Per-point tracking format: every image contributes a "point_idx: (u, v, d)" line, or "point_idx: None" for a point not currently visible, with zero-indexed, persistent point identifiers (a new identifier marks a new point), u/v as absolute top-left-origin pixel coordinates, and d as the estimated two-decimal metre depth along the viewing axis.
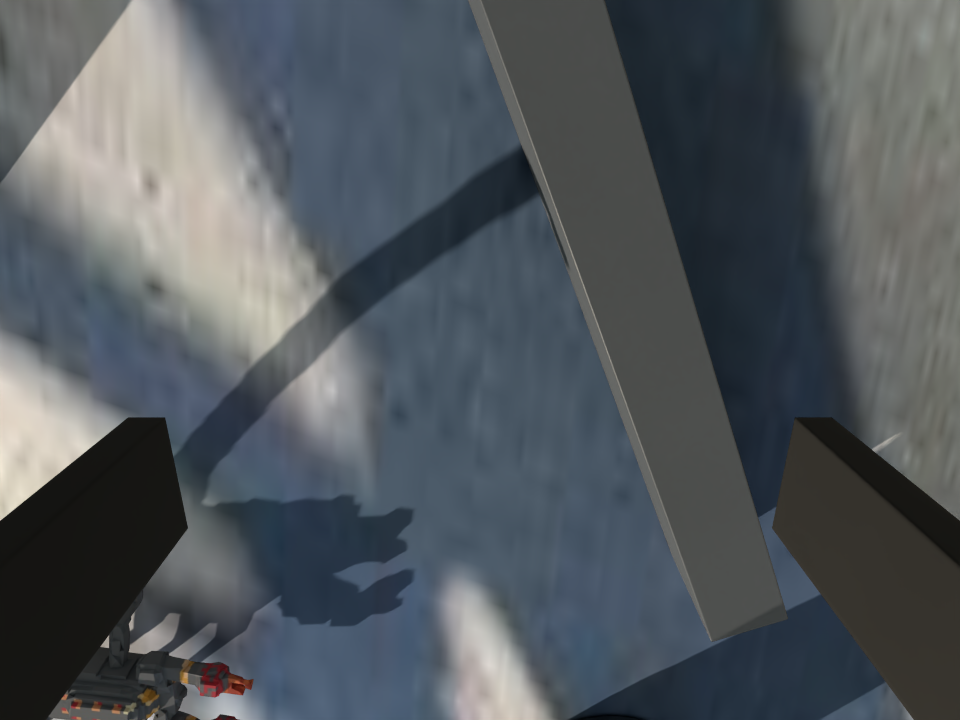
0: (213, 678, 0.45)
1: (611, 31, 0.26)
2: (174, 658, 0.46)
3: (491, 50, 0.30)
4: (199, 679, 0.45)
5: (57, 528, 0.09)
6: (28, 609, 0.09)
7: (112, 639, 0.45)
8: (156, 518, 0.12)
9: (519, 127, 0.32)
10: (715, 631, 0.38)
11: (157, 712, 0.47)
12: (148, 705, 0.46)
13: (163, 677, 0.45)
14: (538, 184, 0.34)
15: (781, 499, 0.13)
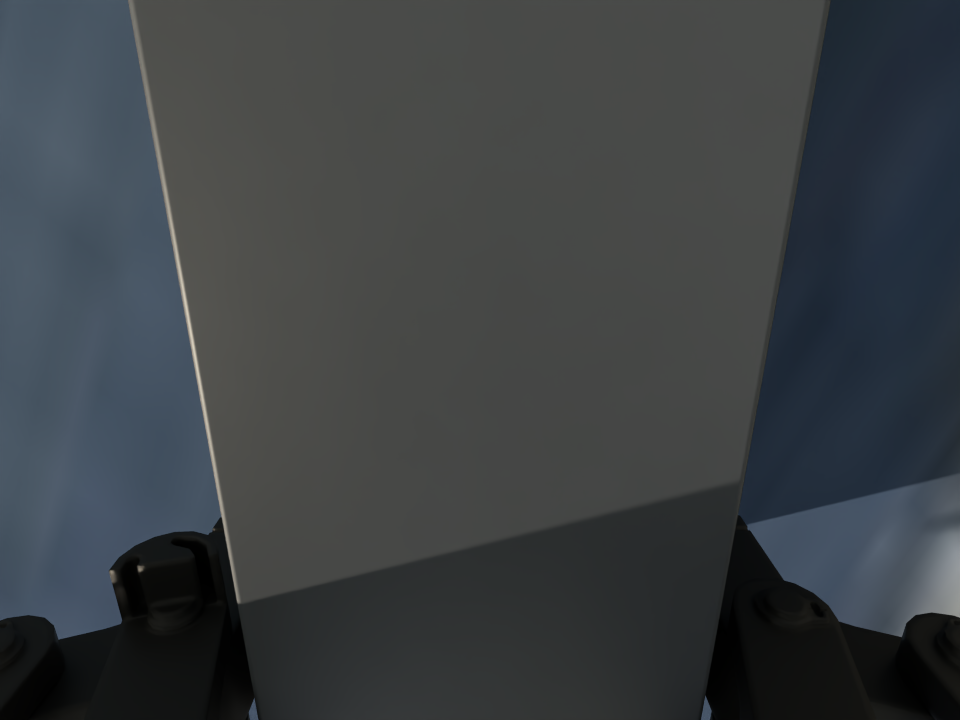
0: None
1: None
2: None
3: None
4: None
5: None
6: None
7: None
8: None
9: None
10: None
11: None
12: None
13: None
14: None
15: None
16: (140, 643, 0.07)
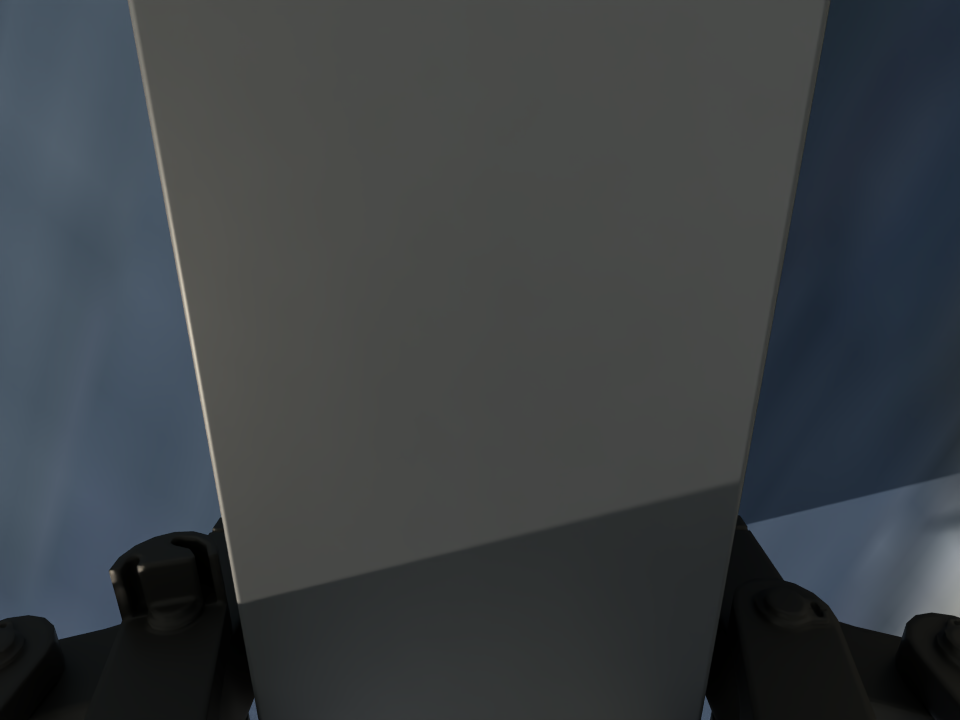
0: None
1: None
2: None
3: None
4: None
5: None
6: None
7: None
8: None
9: None
10: None
11: None
12: None
13: None
14: None
15: None
16: (140, 643, 0.07)
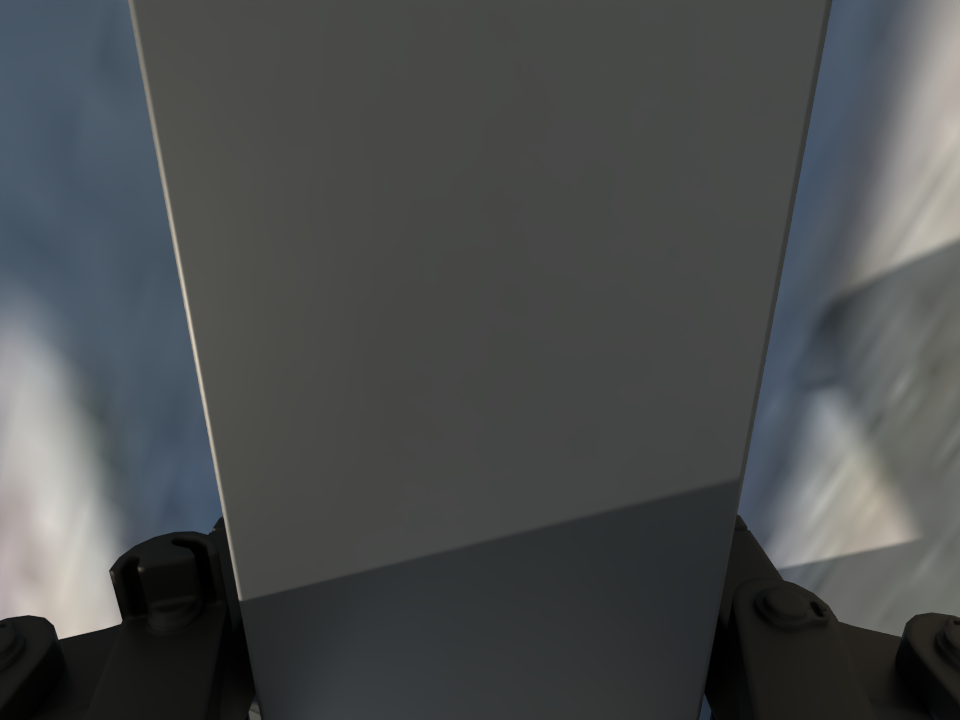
0: None
1: None
2: None
3: None
4: None
5: None
6: None
7: None
8: None
9: None
10: None
11: None
12: None
13: None
14: None
15: None
16: (140, 643, 0.07)
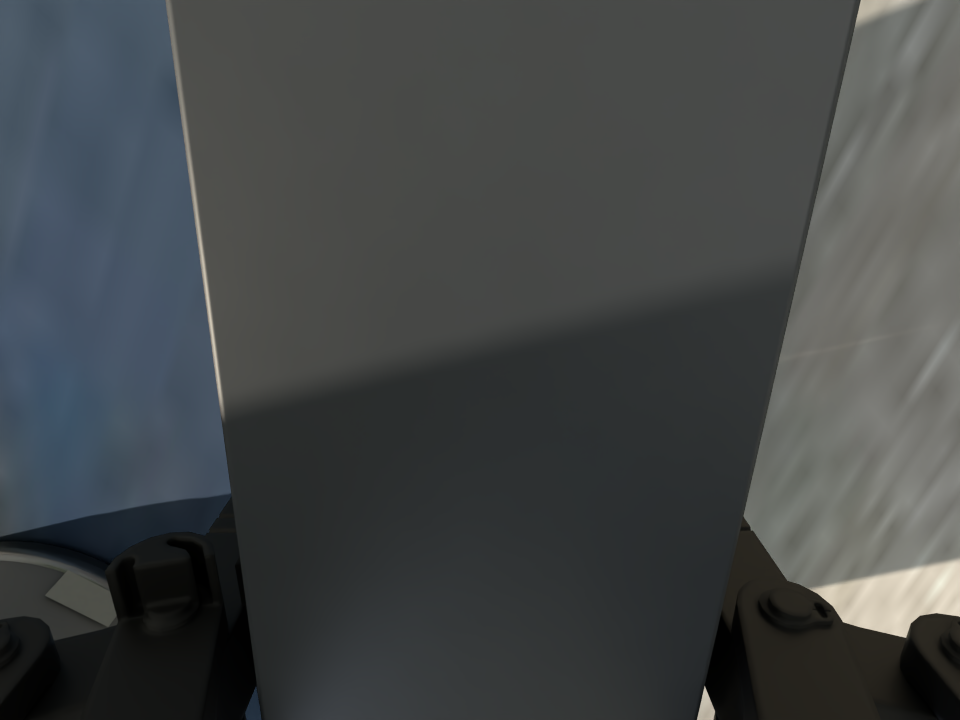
0: None
1: None
2: None
3: None
4: None
5: None
6: None
7: None
8: None
9: None
10: None
11: None
12: None
13: None
14: None
15: None
16: (136, 644, 0.07)
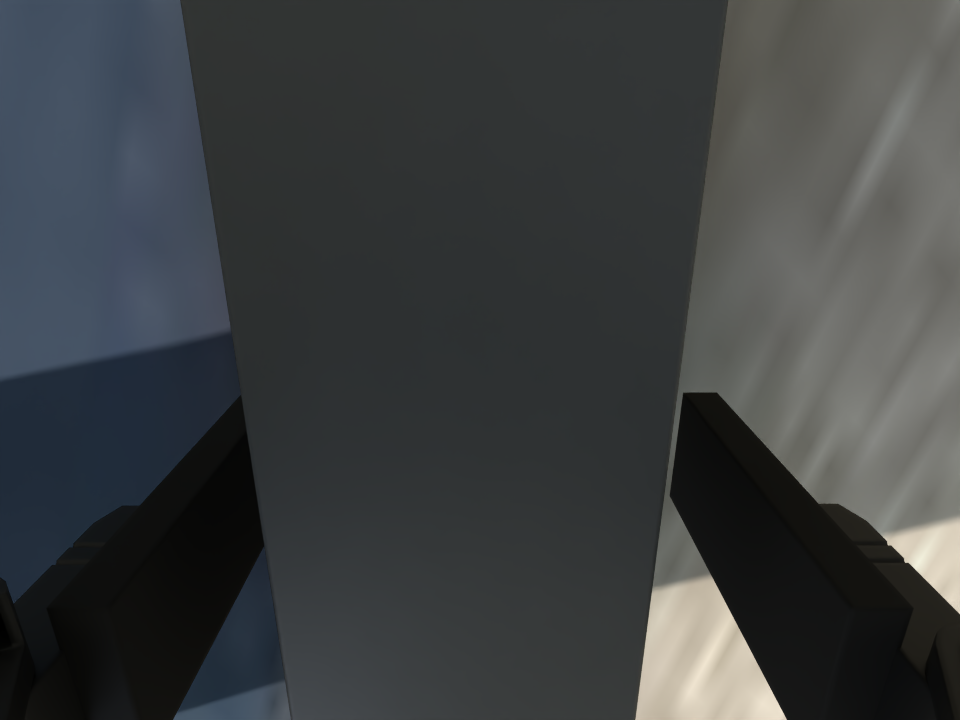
0: None
1: None
2: None
3: None
4: None
5: (215, 483, 0.10)
6: (199, 551, 0.10)
7: None
8: None
9: None
10: None
11: None
12: None
13: None
14: None
15: (675, 468, 0.14)
16: None
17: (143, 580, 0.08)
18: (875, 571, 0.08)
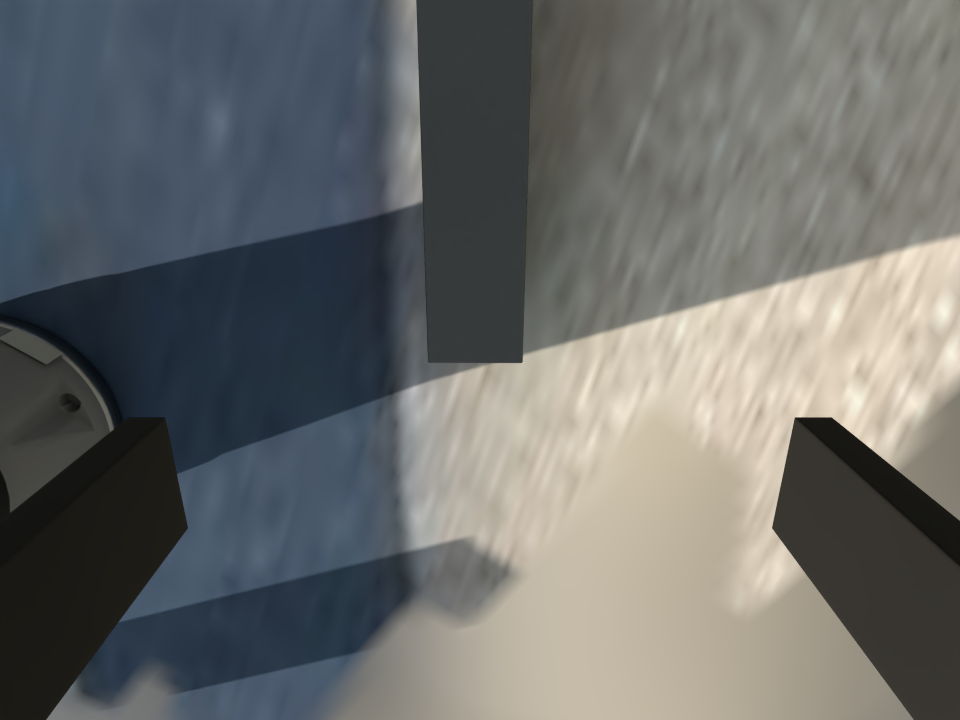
0: None
1: None
2: None
3: None
4: None
5: (57, 528, 0.09)
6: (28, 609, 0.09)
7: None
8: (156, 518, 0.12)
9: None
10: (435, 348, 0.31)
11: None
12: None
13: None
14: None
15: (782, 499, 0.13)
16: None
17: None
18: None
